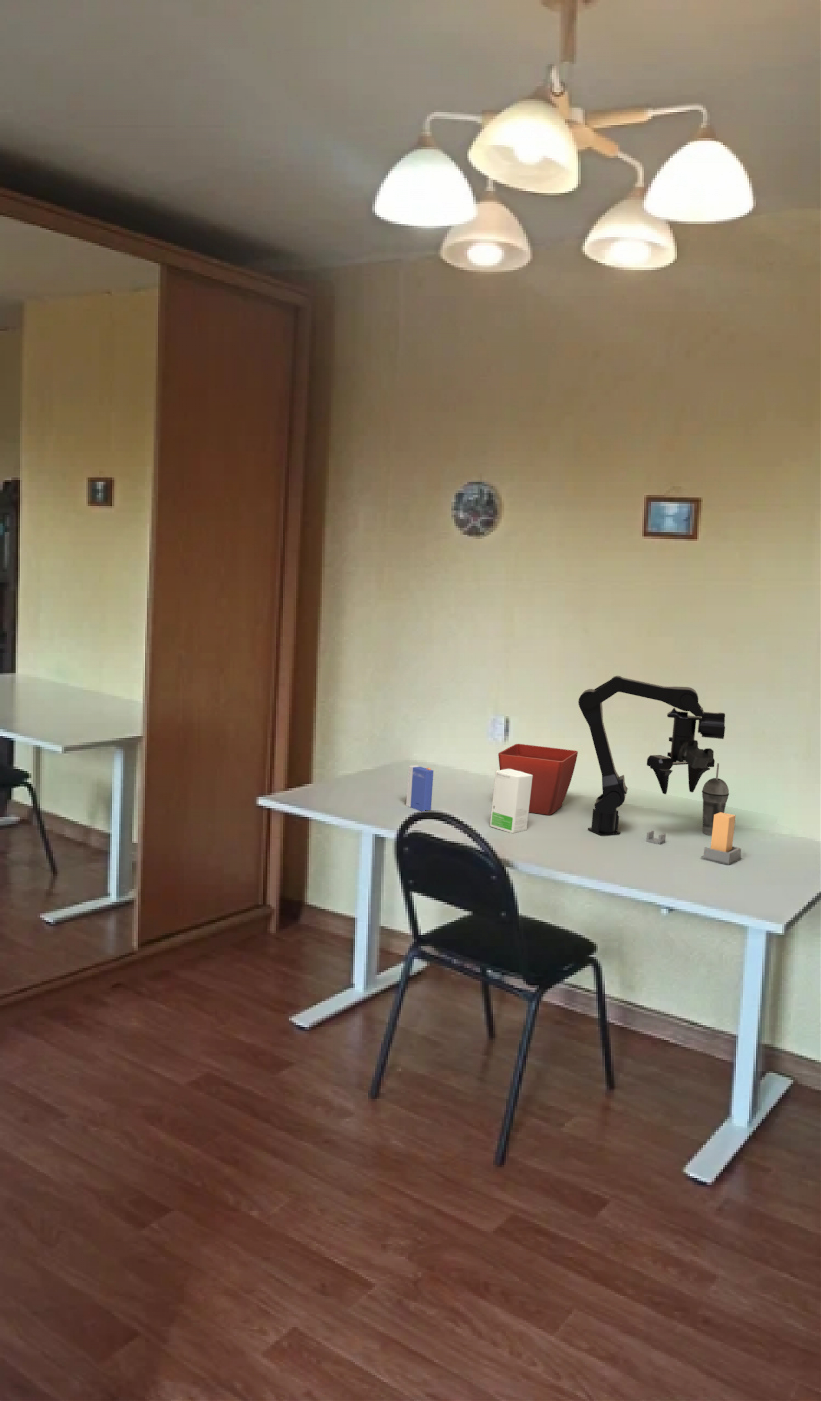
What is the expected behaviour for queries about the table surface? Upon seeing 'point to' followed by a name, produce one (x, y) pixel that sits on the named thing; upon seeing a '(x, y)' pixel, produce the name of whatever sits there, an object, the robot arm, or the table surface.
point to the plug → (723, 832)
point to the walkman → (419, 788)
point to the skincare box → (511, 800)
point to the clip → (654, 840)
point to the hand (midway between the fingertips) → (678, 792)
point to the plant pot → (542, 773)
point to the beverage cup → (713, 801)
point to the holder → (722, 855)
